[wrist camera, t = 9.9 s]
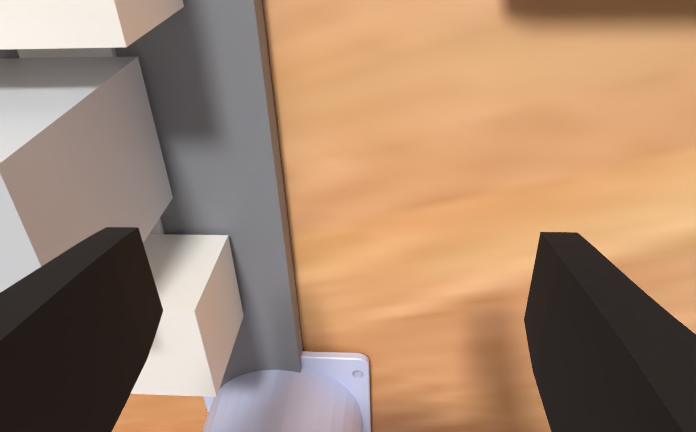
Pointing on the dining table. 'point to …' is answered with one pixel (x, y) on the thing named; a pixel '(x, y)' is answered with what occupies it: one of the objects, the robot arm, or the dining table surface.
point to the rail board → (222, 160)
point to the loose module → (74, 157)
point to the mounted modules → (162, 249)
